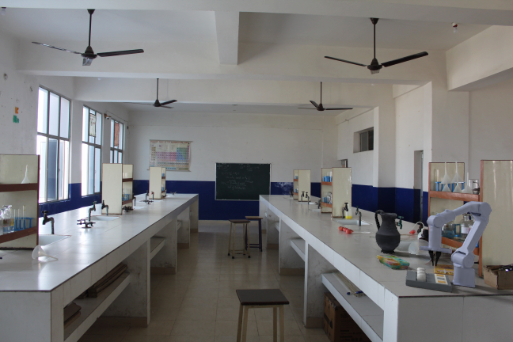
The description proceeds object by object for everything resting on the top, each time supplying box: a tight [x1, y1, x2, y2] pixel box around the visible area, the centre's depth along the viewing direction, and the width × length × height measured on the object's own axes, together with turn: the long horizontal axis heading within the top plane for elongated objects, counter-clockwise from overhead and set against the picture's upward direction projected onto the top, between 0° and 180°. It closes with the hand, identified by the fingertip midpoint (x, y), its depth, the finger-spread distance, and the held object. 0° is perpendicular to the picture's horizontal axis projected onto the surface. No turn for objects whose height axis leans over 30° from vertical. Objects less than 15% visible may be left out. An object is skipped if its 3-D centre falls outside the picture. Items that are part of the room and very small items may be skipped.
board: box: [405, 269, 452, 293], centre depth 182 cm, size 20×20×4 cm
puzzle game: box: [375, 254, 411, 270], centre depth 220 cm, size 12×5×20 cm
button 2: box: [417, 273, 426, 282], centre depth 177 cm, size 4×4×4 cm
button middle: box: [416, 269, 427, 274], centre depth 183 cm, size 4×4×4 cm
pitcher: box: [374, 209, 401, 255], centre depth 259 cm, size 17×21×30 cm
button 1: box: [416, 267, 426, 272], centre depth 189 cm, size 4×4×4 cm
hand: (434, 265), depth 180 cm, fingers closed
